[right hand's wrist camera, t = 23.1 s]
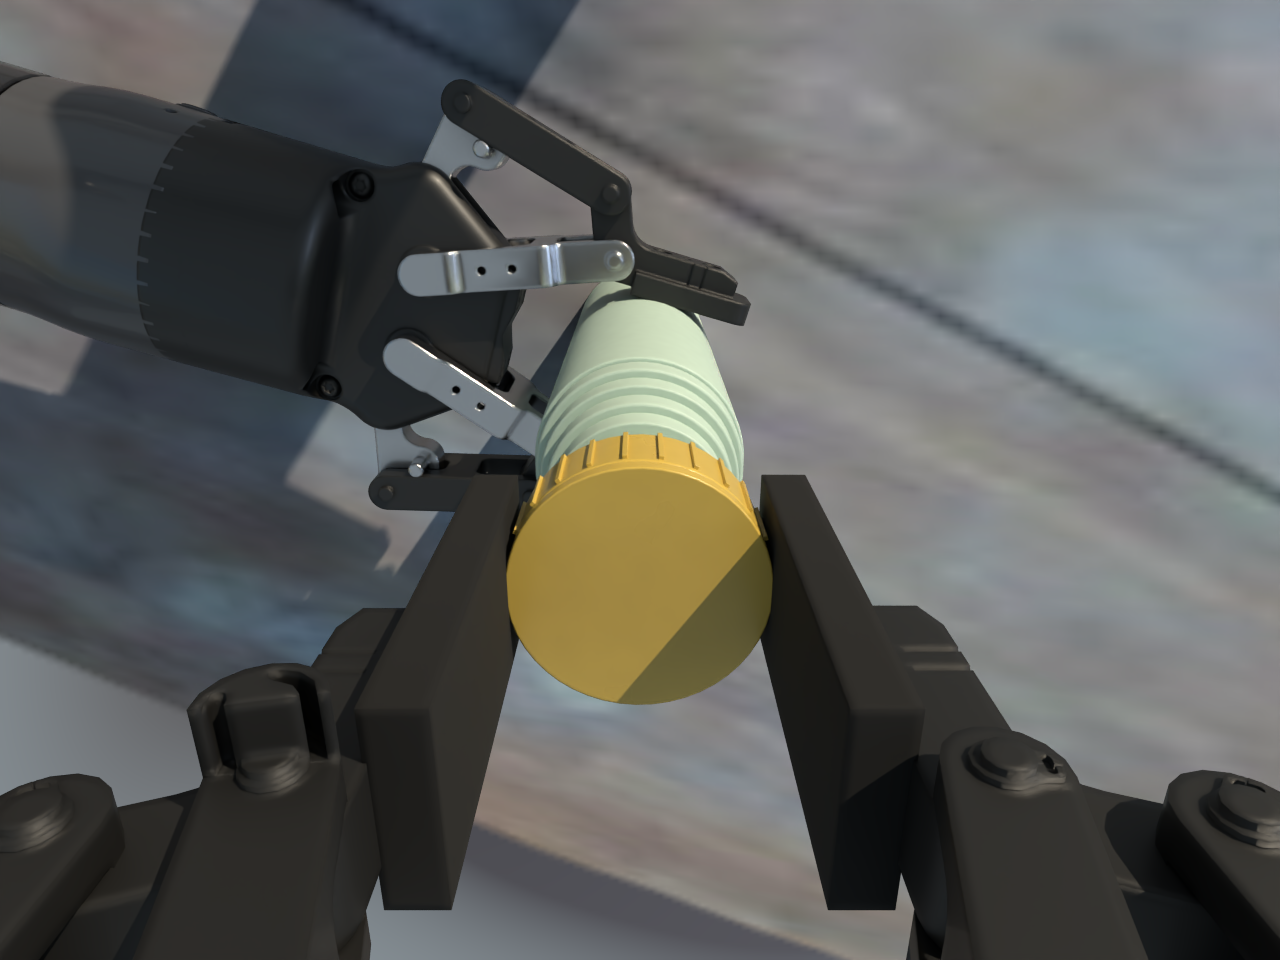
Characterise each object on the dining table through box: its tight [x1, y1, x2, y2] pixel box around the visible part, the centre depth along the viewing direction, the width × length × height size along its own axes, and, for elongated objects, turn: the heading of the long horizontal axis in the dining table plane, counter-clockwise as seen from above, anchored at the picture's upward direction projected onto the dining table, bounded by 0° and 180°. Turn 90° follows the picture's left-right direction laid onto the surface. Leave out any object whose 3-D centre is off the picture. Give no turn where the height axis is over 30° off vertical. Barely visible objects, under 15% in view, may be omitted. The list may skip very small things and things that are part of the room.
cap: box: [506, 432, 773, 705], centre depth 14 cm, size 4×4×2 cm
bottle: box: [535, 281, 744, 482], centre depth 24 cm, size 5×5×21 cm
